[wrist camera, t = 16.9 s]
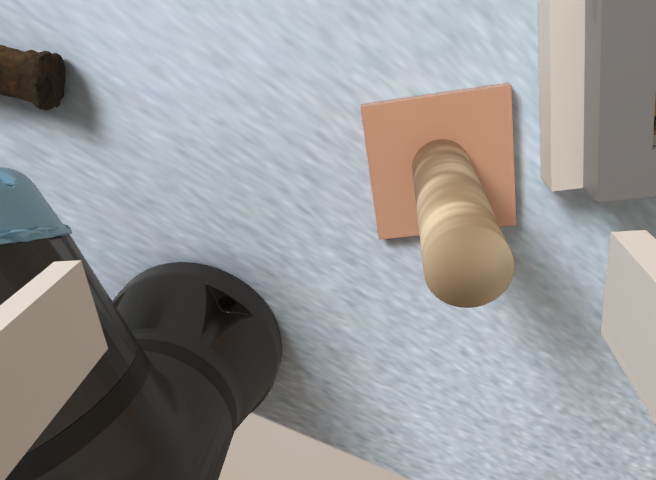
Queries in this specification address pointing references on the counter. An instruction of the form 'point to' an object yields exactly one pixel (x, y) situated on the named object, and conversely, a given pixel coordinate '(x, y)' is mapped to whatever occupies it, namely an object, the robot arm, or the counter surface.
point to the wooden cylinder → (458, 229)
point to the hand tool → (32, 76)
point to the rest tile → (432, 124)
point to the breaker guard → (598, 97)
